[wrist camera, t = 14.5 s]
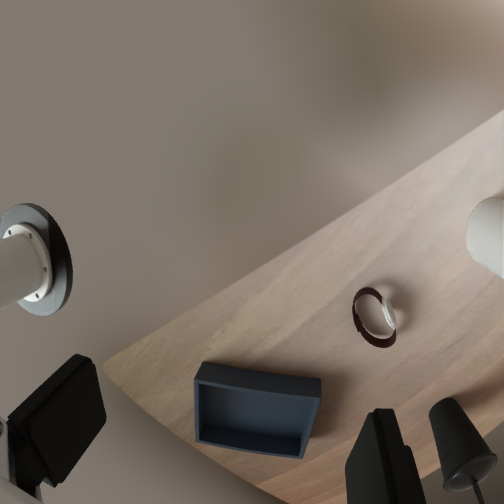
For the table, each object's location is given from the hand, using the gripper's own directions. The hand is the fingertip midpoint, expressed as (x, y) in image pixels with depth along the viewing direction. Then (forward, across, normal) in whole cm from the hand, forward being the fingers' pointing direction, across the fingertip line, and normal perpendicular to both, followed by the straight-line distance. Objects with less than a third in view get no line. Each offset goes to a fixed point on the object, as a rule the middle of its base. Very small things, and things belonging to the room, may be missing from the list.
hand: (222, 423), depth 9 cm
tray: (+26, 0, +23) cm, 35 cm away
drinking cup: (+26, -28, +22) cm, 44 cm away
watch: (+26, -12, +7) cm, 30 cm away
